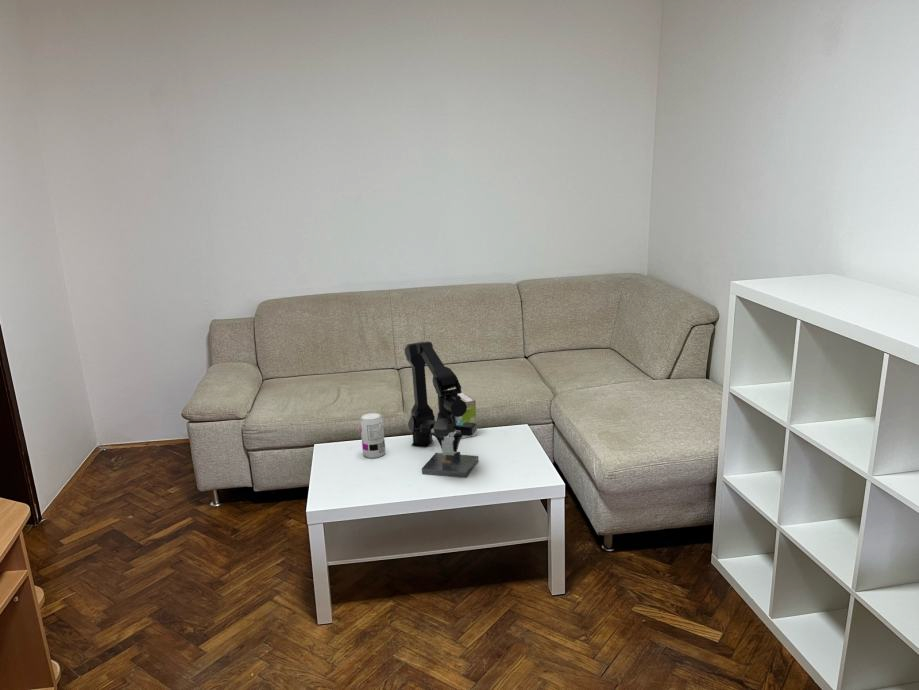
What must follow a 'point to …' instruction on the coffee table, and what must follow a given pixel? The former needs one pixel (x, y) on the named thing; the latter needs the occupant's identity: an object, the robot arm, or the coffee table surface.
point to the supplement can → (372, 435)
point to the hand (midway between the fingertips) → (449, 450)
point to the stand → (450, 465)
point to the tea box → (467, 413)
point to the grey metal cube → (448, 446)
